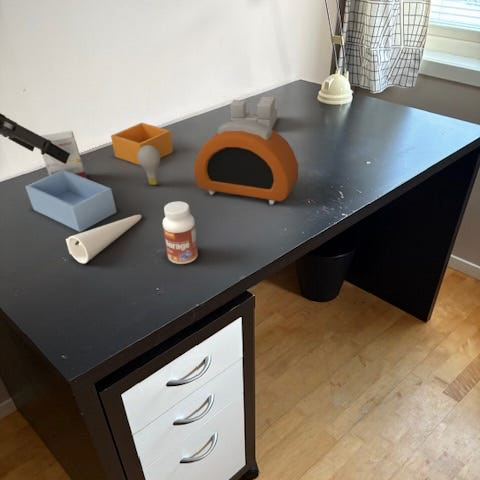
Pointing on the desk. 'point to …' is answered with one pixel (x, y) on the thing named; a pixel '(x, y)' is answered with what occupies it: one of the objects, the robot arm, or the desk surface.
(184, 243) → the pill bottle
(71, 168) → the ink box
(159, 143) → the amber bin
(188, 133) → the desk surface
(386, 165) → the desk surface
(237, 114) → the gray notched block
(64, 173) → the blue bin
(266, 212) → the desk surface
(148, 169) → the light bulb
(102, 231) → the long cone
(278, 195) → the alarm clock
